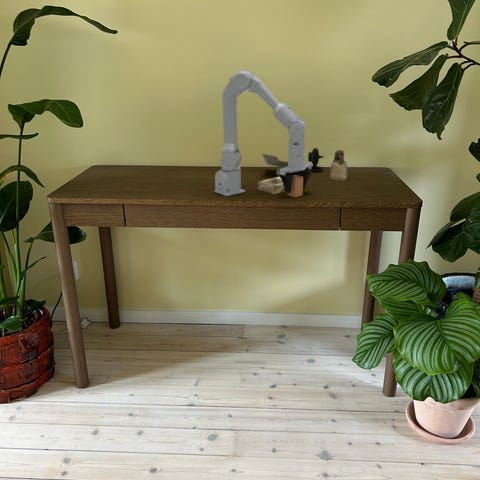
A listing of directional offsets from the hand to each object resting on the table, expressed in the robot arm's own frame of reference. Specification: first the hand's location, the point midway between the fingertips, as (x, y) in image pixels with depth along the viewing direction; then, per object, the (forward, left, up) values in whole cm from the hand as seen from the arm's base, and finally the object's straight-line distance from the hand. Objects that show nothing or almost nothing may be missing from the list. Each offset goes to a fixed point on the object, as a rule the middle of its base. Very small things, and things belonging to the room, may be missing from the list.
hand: (295, 190), depth 180 cm
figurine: (+31, +5, -2) cm, 31 cm away
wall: (+18, +25, -2) cm, 31 cm away
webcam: (+34, +21, -2) cm, 40 cm away
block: (0, 0, -2) cm, 2 cm away
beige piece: (+2, +10, -2) cm, 11 cm away
